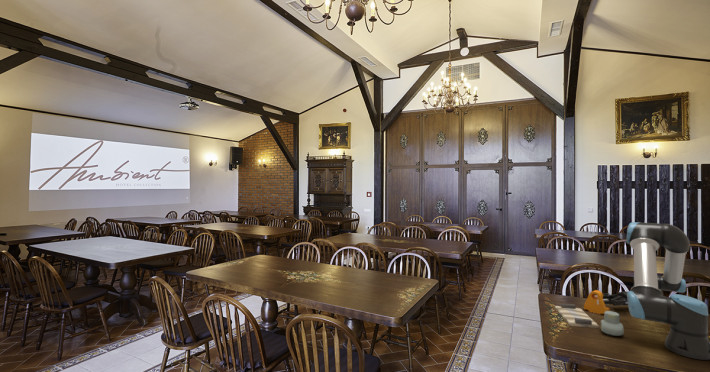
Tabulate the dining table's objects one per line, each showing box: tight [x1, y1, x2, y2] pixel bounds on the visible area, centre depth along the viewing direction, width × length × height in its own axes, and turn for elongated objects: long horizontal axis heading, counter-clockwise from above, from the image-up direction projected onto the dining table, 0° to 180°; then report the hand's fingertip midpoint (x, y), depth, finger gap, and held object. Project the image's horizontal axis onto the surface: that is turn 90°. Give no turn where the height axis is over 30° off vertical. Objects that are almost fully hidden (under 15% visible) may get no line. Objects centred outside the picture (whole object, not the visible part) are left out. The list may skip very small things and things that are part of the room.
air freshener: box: [600, 310, 624, 337], centre depth 166 cm, size 11×8×10 cm
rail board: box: [554, 302, 600, 329], centre depth 186 cm, size 26×13×3 cm, turn 164°
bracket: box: [583, 289, 611, 315], centre depth 195 cm, size 11×7×12 cm, turn 37°
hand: (593, 300), depth 194 cm, fingers closed on bracket, 5 cm apart
